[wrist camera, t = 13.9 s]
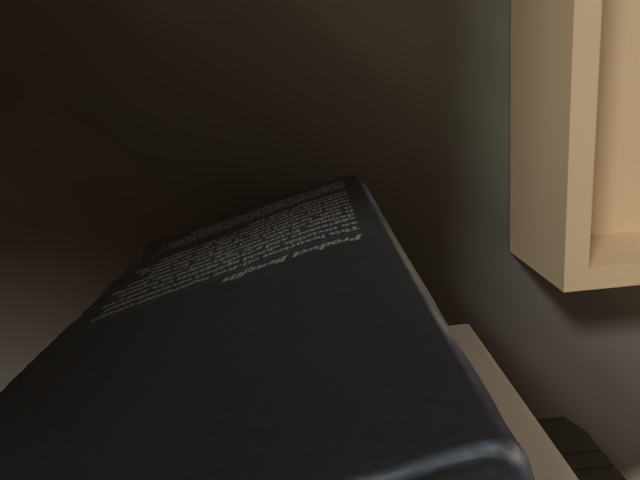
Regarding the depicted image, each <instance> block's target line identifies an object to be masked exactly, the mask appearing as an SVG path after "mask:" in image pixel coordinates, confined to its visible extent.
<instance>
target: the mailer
mask: <svg viewBox="0 0 640 480" xmlns="http://www.w3.org/2000/svg"><path fill="white" fill-rule="evenodd" d="M510 252H511V253H512V254H514V255H515V256H516V257H518V258H519V259H520V260H522V261H523V262H524V263H526V264H527V265H528V266H530V267H531V268H532V269H534V270H535V271H536V272H537V273H539V274H540V275H541V276H543V277H544V278H545V279H547V280H548V281H549V282H551V283H552V284H553V285H555V286H556V287H557V288H558V289H560V290H561V291H562V292H573V291H583V290H594V289H604V288H614V287H624V286H634V285H640V0H511V102H510Z"/></svg>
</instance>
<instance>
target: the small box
mask: <svg viewBox="0 0 640 480" xmlns="http://www.w3.org/2000/svg"><path fill="white" fill-rule="evenodd" d="M0 480H535V478H534V475H533V472H532V469H531V465H530V462H529V459H528V456H527V455H526V453H525V452H524V450H523V449H522V447H521V446H520V444H519V443H518V441H517V440H516V438H515V437H514V435H513V434H512V432H511V431H510V429H509V428H508V426H507V425H506V423H505V422H504V420H503V418H502V416H501V414H500V412H499V410H498V408H497V406H496V404H495V402H494V401H493V399H492V397H491V396H490V394H489V392H488V390H487V389H486V387H485V385H484V384H483V382H482V380H481V379H480V377H479V375H478V374H477V372H476V370H475V369H474V367H473V366H472V364H471V362H470V361H469V359H468V358H467V356H466V354H465V353H464V351H463V350H462V348H461V346H460V345H459V343H458V342H457V340H456V338H455V336H454V335H453V333H452V331H451V330H450V328H449V326H448V325H447V323H446V321H445V319H444V318H443V316H442V314H441V313H440V311H439V309H438V307H437V305H436V304H435V302H434V300H433V298H432V296H431V295H430V293H429V291H428V290H427V288H426V287H425V285H424V283H423V282H422V280H421V278H420V277H419V275H418V273H417V272H416V270H415V268H414V267H413V265H412V263H411V262H410V260H409V259H408V257H407V255H406V254H405V252H404V250H403V248H402V247H401V245H400V243H399V241H398V240H397V238H396V236H395V235H394V233H393V231H392V229H391V227H390V225H389V223H388V222H387V220H386V219H385V217H384V216H383V214H382V213H381V211H380V209H379V207H378V205H377V204H376V202H375V200H374V198H373V197H372V195H371V193H370V191H369V190H368V188H367V186H366V185H365V183H364V182H363V180H362V179H361V178H360V177H359V176H358V175H356V174H351V175H347V176H344V177H341V178H338V179H335V180H332V181H329V182H326V183H323V184H320V185H316V186H314V187H311V188H308V189H305V190H301V191H298V192H295V193H293V194H291V195H288V196H284V197H282V198H279V199H275V200H272V201H269V202H266V203H264V204H261V205H259V206H255V207H252V208H249V209H246V210H244V211H241V212H238V213H235V214H232V215H229V216H226V217H223V218H221V219H218V220H215V221H212V222H210V223H207V224H204V225H201V226H197V227H194V228H191V229H189V230H186V231H183V232H180V233H177V234H174V235H171V236H169V237H166V238H163V239H160V240H157V241H154V242H152V243H150V244H149V245H148V246H147V247H146V248H145V249H144V251H143V253H142V254H141V256H140V257H139V259H138V260H137V261H136V262H135V263H134V264H132V265H131V266H130V267H129V268H128V270H126V271H125V272H124V273H123V275H122V276H121V277H120V278H118V279H117V280H116V281H114V282H113V283H112V284H111V285H110V286H109V287H108V288H107V289H106V290H105V291H104V292H103V293H102V294H101V296H100V297H99V299H97V300H96V301H95V302H94V303H93V304H92V305H90V306H89V307H88V308H87V309H86V310H85V311H84V312H83V313H82V314H81V315H80V316H79V317H78V318H77V319H76V320H75V321H74V322H73V323H71V324H70V325H69V326H68V327H67V328H66V329H65V330H64V331H63V332H62V333H61V334H60V335H59V336H58V337H57V338H56V339H55V340H54V341H53V342H52V343H51V344H50V345H49V346H48V347H47V348H46V349H45V350H43V351H42V352H41V353H40V354H39V355H38V356H37V357H36V358H35V359H34V360H33V361H32V362H31V363H29V364H28V365H27V366H26V368H25V369H24V370H23V371H22V372H20V373H19V374H18V375H17V376H16V377H15V378H14V379H13V380H12V381H11V382H10V383H9V384H8V385H7V386H6V387H5V389H4V390H3V391H1V392H0Z"/></svg>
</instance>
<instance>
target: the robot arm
mask: <svg viewBox="0 0 640 480" xmlns="http://www.w3.org/2000/svg"><path fill="white" fill-rule="evenodd" d="M449 328H450V330H451V331H452V333H453V335H454V336H455V338H456V340H457V342H458V343H459V345H460V346H461V348H462V350H463V351H464V353H465V354H466V356H467V358H468V359H469V361H470V362H471V364H472V366H473V367H474V369H475V370H476V372H477V374H478V375H479V377H480V379H481V380H482V382H483V384H484V385H485V387H486V389H487V390H488V392H489V394H490V396H491V397H492V399H493V401H494V402H495V404H496V406H497V408H498V410H499V412H500V414H501V416H502V418H503V420H504V422H505V423H506V425H507V426H508V428H509V429H510V431H511V432H512V434H513V435H514V437H515V438H516V440H517V441H518V443H519V444H520V446H521V447H522V449H523V450H524V452H525V453H526V455H527V456H528V459H529V462H530V465H531V469H532V472H533V475H534V478H535V480H626V479H625V478H624V477H623V476H622V474H621V473H620V472H619V471H618V470H617V469H615V468H614V465H613V464H612V462H611V461H610V460H609V459H608V457H607V456H606V455H605V454H604V453H603V454H602V452H601V449H600V448H599V447H598V445H597V444H596V443H595V442H594V441H593V439H592V438H591V437H590V436H589V435H588V433H587V432H586V431H584V430H583V429H581V428H580V427H578V426H577V425H575V424H574V423H572V422H571V421H569V420H568V419H566V418H565V417H558V418H549V419H539V420H536V418H535V417H534V416H533V414H532V413H531V411H530V410H529V408H528V407H527V406H526V404H525V403H524V401H523V400H522V399H521V397H520V396H519V394H518V393H517V391H516V390H515V389H514V387H513V386H512V384H511V383H510V382H509V380H508V379H507V377H506V376H505V374H504V373H503V372H502V370H501V369H500V367H499V366H498V365H497V363H496V362H495V360H494V359H493V358H492V356H491V355H490V353H489V352H488V350H487V349H486V348H485V346H484V345H483V343H482V342H481V341H480V339H479V338H478V336H477V335H476V333H475V332H474V331H473V329H472V328H471V326H470V325H469V324H460V325H451V326H449Z"/></svg>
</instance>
